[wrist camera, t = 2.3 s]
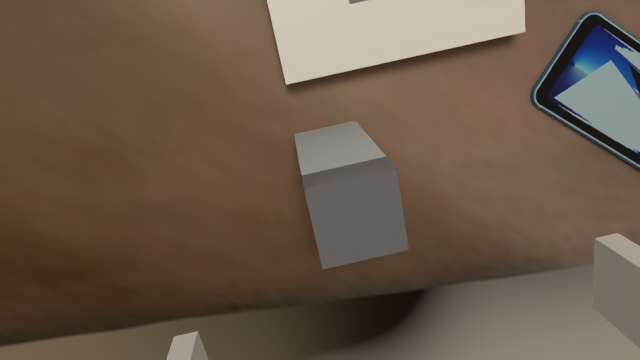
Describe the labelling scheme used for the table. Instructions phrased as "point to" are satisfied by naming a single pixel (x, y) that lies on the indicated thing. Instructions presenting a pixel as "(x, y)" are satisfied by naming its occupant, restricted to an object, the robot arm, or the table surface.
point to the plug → (350, 195)
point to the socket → (381, 30)
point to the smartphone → (596, 85)
